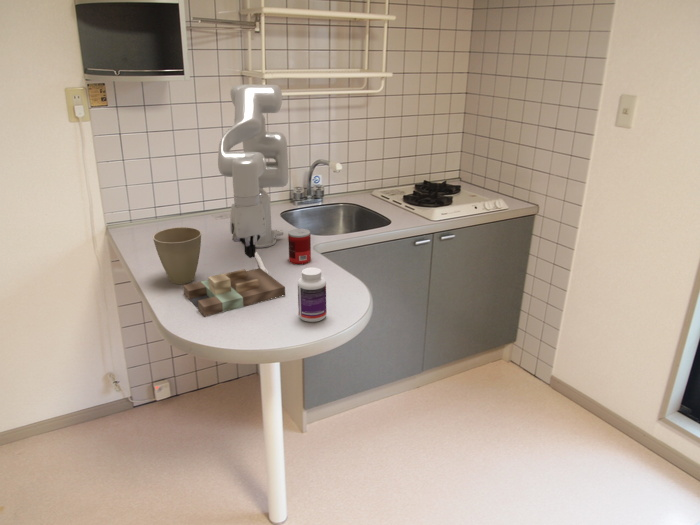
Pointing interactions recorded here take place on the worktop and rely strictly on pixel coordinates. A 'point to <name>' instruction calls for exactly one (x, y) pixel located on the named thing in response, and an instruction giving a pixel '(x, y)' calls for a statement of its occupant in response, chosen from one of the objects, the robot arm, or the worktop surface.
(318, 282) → the pill bottle
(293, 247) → the canned food
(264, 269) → the white knobbed rod
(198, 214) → the worktop surface
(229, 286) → the block
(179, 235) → the plant pot
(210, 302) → the wooden block puzzle
